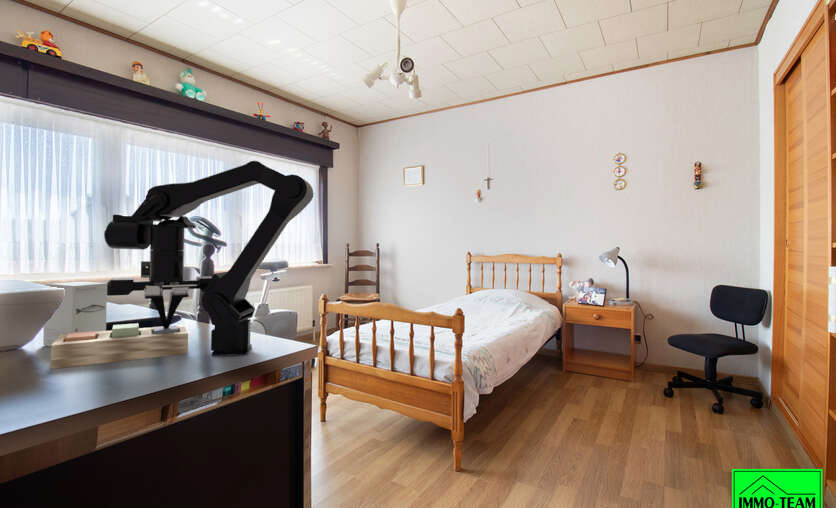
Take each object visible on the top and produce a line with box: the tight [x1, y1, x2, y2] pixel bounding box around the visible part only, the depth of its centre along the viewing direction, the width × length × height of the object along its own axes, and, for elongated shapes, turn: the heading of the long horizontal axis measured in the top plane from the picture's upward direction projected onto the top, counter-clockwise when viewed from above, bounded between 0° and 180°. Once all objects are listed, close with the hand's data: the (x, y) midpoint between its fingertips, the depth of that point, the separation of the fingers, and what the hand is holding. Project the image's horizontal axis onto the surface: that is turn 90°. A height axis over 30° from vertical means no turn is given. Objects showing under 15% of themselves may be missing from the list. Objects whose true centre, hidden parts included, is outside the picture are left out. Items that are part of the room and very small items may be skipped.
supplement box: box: [42, 281, 108, 347], centre depth 83 cm, size 7×7×13 cm
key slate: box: [152, 325, 178, 334], centre depth 80 cm, size 4×4×2 cm
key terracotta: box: [66, 331, 97, 341], centre depth 73 cm, size 4×4×2 cm
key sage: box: [111, 322, 140, 338], centre depth 76 cm, size 4×4×2 cm
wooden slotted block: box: [50, 324, 189, 370], centre depth 77 cm, size 20×9×4 cm, turn 125°
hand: (166, 328), depth 80 cm, fingers closed, pressing on key slate
